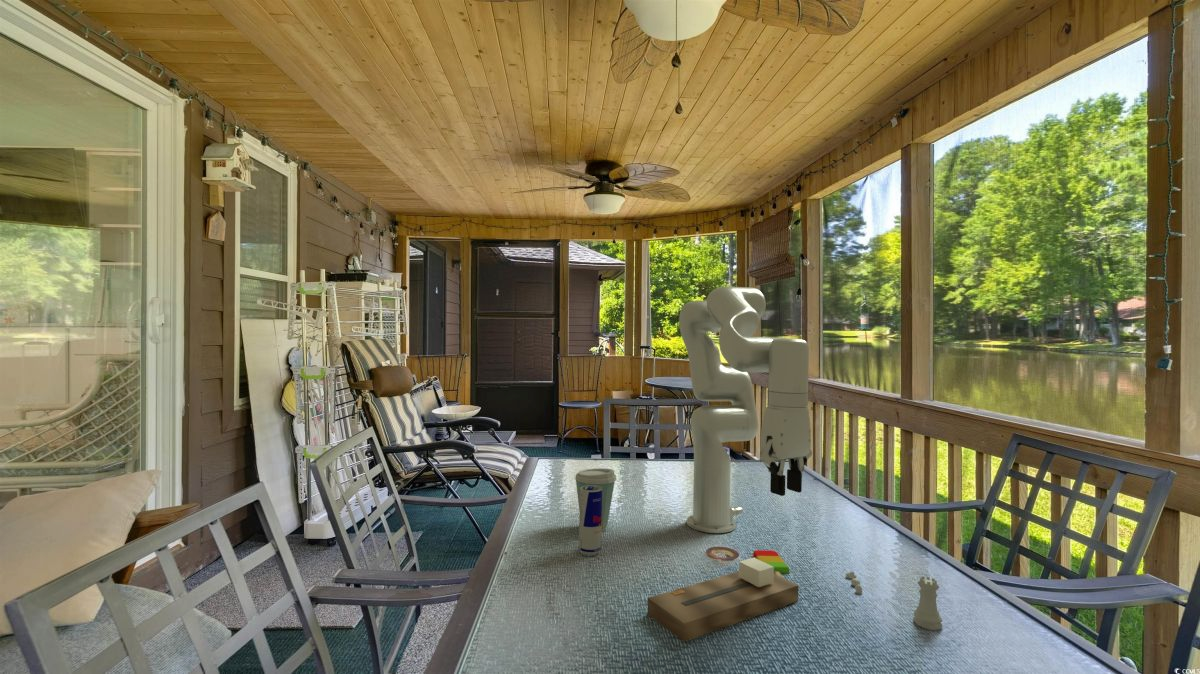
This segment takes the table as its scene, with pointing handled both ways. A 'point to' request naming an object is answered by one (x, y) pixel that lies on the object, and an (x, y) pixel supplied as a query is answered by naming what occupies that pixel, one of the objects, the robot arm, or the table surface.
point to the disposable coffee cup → (604, 480)
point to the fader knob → (756, 572)
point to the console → (718, 604)
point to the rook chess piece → (927, 605)
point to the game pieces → (854, 582)
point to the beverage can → (590, 519)
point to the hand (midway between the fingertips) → (785, 491)
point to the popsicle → (772, 560)
